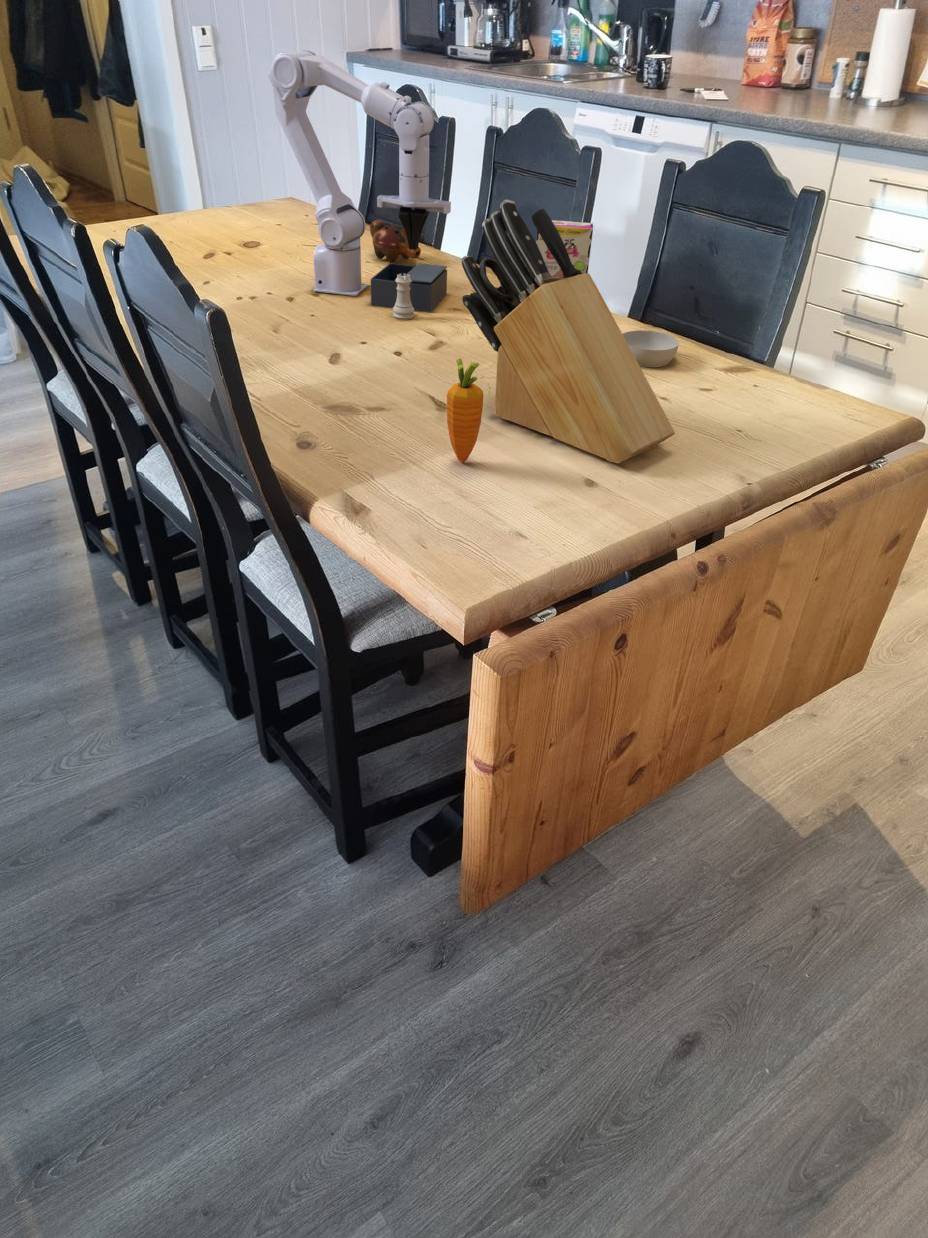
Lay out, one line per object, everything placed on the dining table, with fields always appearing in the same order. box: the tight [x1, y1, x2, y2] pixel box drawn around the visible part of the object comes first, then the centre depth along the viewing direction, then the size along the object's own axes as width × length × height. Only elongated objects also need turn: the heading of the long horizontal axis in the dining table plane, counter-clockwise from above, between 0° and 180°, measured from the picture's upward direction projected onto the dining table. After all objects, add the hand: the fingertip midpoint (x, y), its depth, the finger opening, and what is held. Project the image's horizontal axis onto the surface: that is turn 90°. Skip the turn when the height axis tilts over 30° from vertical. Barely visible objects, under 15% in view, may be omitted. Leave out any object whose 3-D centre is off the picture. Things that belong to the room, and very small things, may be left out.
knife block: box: [461, 199, 676, 464], centre depth 135 cm, size 11×35×31 cm, turn 46°
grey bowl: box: [622, 329, 680, 368], centre depth 169 cm, size 11×18×4 cm, turn 65°
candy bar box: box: [535, 219, 594, 279], centre depth 189 cm, size 11×5×16 cm, turn 84°
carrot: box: [446, 357, 484, 464], centre depth 127 cm, size 5×5×15 cm
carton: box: [370, 262, 448, 313], centre depth 192 cm, size 13×13×5 cm
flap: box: [406, 263, 448, 283], centre depth 189 cm, size 6×12×1 cm, turn 166°
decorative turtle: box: [369, 219, 422, 264], centre depth 216 cm, size 10×15×8 cm, turn 54°
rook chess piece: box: [391, 274, 416, 321], centre depth 182 cm, size 4×4×8 cm
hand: (413, 248), depth 187 cm, fingers closed
